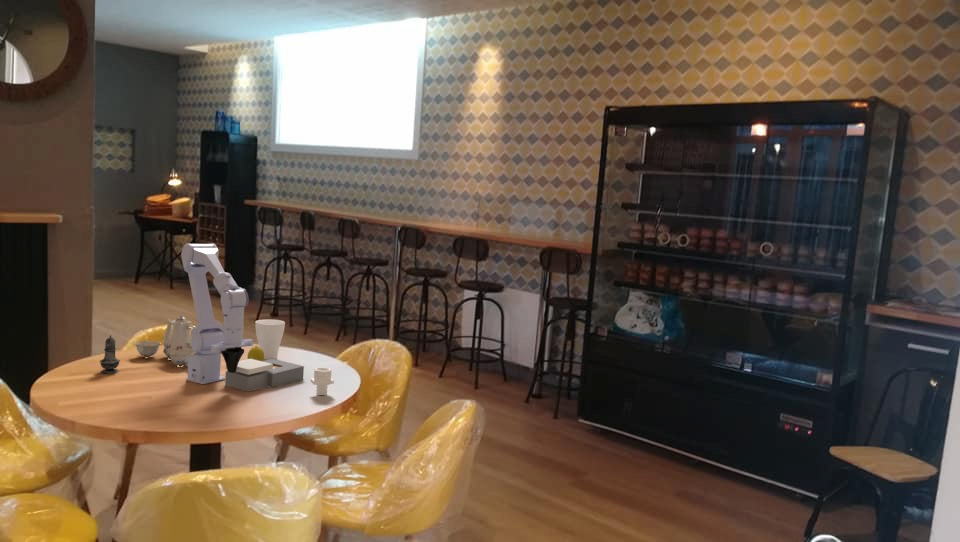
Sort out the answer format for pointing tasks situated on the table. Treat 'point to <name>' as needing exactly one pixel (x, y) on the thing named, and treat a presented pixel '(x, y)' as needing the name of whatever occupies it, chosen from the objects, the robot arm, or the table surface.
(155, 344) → the chinaware
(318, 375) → the pipe fitting
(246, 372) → the cream square tile
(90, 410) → the table surface
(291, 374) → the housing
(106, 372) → the salt shaker
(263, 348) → the cup
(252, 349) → the lemon
